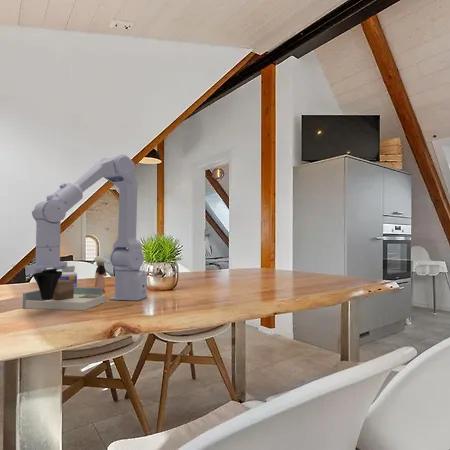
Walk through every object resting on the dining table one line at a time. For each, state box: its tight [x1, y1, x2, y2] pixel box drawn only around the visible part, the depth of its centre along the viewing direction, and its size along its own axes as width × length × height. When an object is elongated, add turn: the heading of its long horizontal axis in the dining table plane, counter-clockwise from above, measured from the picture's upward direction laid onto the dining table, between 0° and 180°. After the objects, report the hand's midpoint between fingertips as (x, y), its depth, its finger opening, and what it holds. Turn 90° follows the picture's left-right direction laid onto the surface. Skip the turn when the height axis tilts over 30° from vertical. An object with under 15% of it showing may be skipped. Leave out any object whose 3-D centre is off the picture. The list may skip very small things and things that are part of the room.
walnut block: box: [51, 280, 74, 300], centre depth 103 cm, size 5×5×5 cm
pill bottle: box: [59, 264, 78, 287], centre depth 120 cm, size 5×5×10 cm
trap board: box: [22, 286, 107, 311], centre depth 104 cm, size 18×13×4 cm
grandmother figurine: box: [93, 255, 108, 294], centre depth 127 cm, size 8×4×13 cm, turn 5°
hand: (47, 299), depth 95 cm, fingers closed
